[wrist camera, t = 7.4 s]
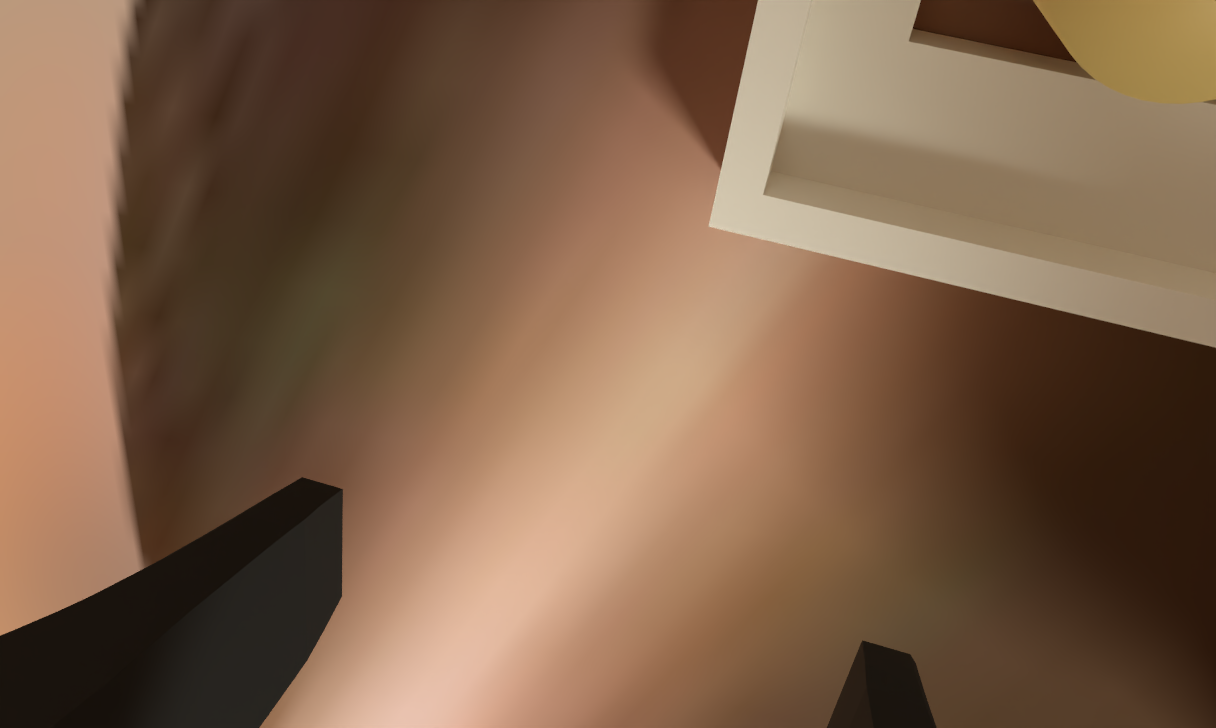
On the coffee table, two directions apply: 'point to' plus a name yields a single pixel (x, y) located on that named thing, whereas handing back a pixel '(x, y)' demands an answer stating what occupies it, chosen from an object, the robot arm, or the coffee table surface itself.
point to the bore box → (971, 167)
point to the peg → (1141, 45)
